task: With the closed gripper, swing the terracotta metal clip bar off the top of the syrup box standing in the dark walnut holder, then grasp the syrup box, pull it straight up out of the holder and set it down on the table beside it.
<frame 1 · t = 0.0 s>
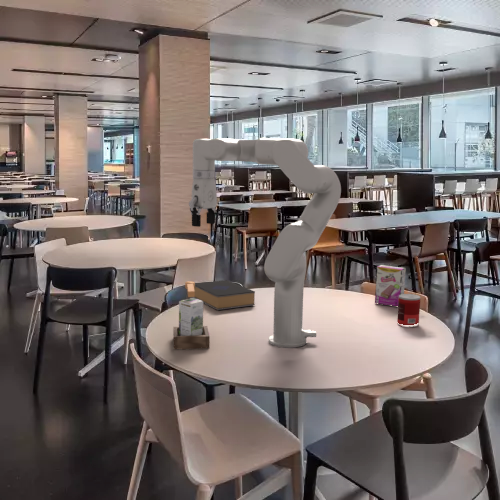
hand: (203, 224, 200), 37 cm above the table, tool pointing down, fingers open, 9 cm apart
clip bar: (190, 289, 190), point 18 cm above the table, hinge at 0.0°
holder: (191, 343, 189), on the table
book: (222, 303, 244), on the table
canned food: (407, 325, 214), on the table
syrup box: (191, 343, 189), resting in holder
candy bar box: (389, 305, 243), on the table
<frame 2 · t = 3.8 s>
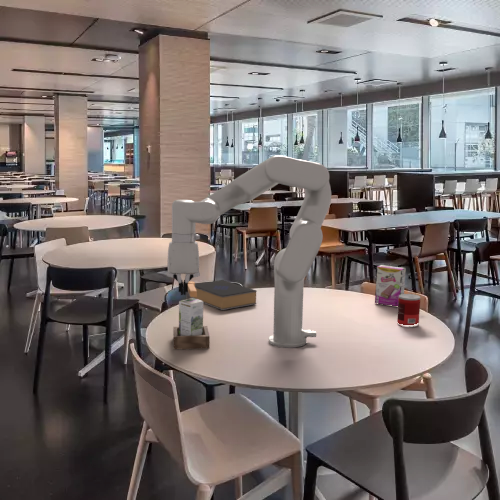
hand: (183, 294, 187), 16 cm above the table, tool pointing down, fingers closed
clip bar: (191, 289, 190), point 18 cm above the table, hinge at 3.3°, touching gripper
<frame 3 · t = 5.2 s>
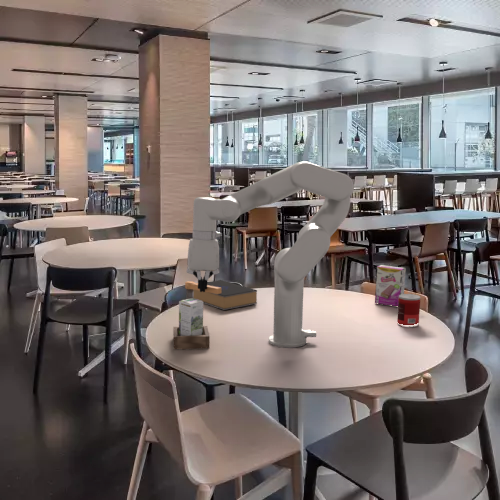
hand: (202, 290, 188), 17 cm above the table, tool pointing down, fingers closed
clip bar: (202, 287, 192), point 18 cm above the table, hinge at 45.5°, touching gripper
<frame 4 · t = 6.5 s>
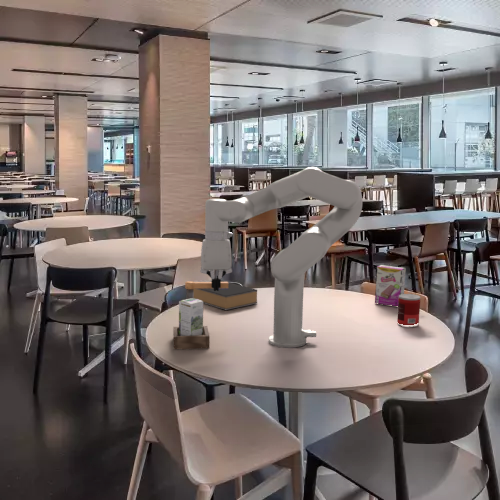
hand: (216, 289, 194), 16 cm above the table, tool pointing down, fingers closed
clip bar: (206, 285, 196), point 18 cm above the table, hinge at 88.3°, touching gripper
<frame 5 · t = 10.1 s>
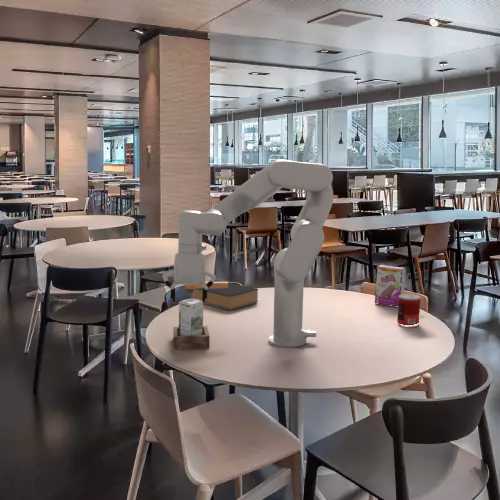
hand: (188, 300, 187), 14 cm above the table, tool pointing down, fingers open, 9 cm apart
clip bar: (206, 285, 196), point 18 cm above the table, hinge at 88.5°
syrup box: (191, 344, 189), resting in holder, touching gripper
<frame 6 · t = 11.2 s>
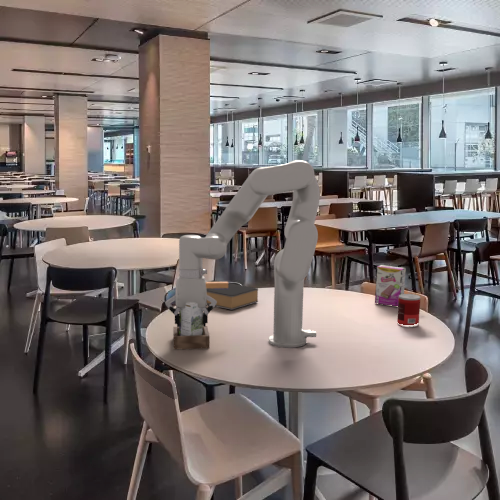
hand: (191, 325, 188), 6 cm above the table, tool pointing down, fingers closed on syrup box, 8 cm apart
syrup box: (191, 343, 189), resting in holder, touching gripper
when the fingers open (8 cm above the table, at t = 19.2 s): syrup box drops 2 cm, on the table.
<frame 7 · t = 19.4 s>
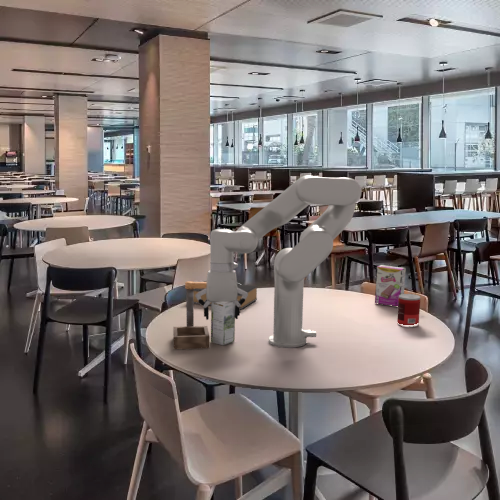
hand: (221, 318, 189), 8 cm above the table, tool pointing down, fingers open, 9 cm apart
syrup box: (222, 342, 191), on the table, touching gripper
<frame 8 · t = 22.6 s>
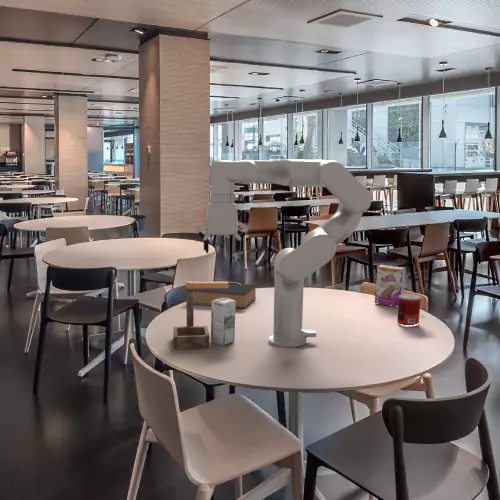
hand: (221, 252, 186), 30 cm above the table, tool pointing down, fingers open, 9 cm apart
syrup box: (222, 342, 191), on the table
at the end: clip bar at +88° (first picture: +0°); syrup box inside the target area (0.6 cm from its centre), on the table; syrup box tilted 0° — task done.
